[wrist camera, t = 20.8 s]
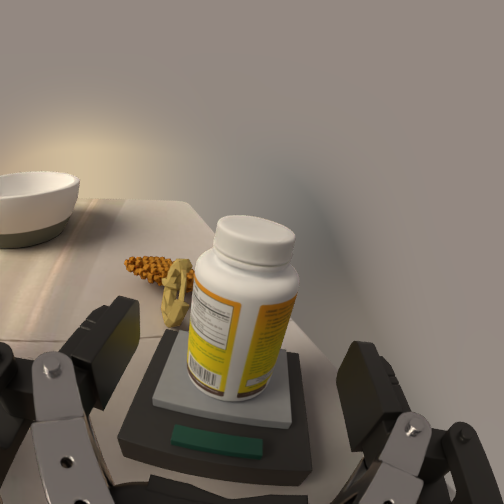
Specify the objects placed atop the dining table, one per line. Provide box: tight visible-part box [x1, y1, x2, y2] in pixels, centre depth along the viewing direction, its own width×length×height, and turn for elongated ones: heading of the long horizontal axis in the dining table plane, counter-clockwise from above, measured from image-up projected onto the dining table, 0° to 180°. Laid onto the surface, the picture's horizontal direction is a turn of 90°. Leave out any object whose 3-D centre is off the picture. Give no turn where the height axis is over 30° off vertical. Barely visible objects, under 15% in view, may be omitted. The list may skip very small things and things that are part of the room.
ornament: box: [124, 256, 195, 328], centre depth 30 cm, size 7×10×15 cm
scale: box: [117, 329, 312, 486], centre depth 18 cm, size 11×11×3 cm
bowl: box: [0, 171, 80, 248], centre depth 37 cm, size 22×22×8 cm
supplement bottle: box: [187, 215, 300, 402], centre depth 16 cm, size 6×6×10 cm
